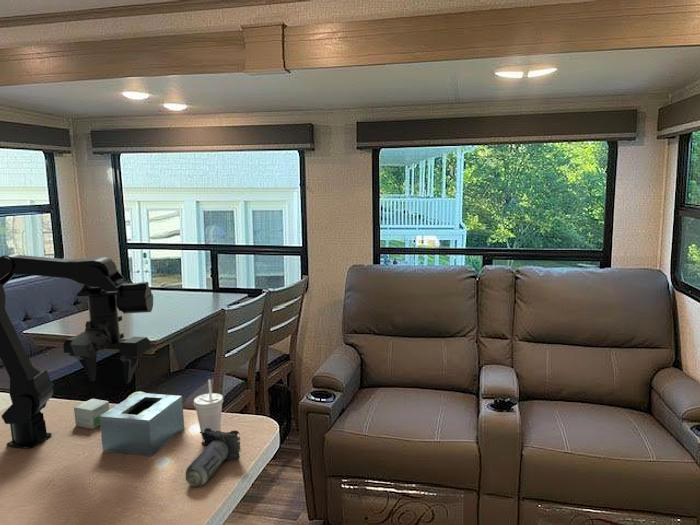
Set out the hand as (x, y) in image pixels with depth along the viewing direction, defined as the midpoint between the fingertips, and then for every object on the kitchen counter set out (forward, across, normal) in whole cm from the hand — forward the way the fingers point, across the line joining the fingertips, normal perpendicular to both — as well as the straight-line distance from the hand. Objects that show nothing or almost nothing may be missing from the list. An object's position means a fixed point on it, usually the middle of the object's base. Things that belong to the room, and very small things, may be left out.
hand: (110, 381), depth 120 cm
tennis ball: (+13, -1, +10) cm, 17 cm away
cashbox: (+13, +8, 0) cm, 15 cm away
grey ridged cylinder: (+14, +29, -10) cm, 34 cm away
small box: (+13, -10, +5) cm, 17 cm away
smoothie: (+13, +23, +2) cm, 27 cm away
